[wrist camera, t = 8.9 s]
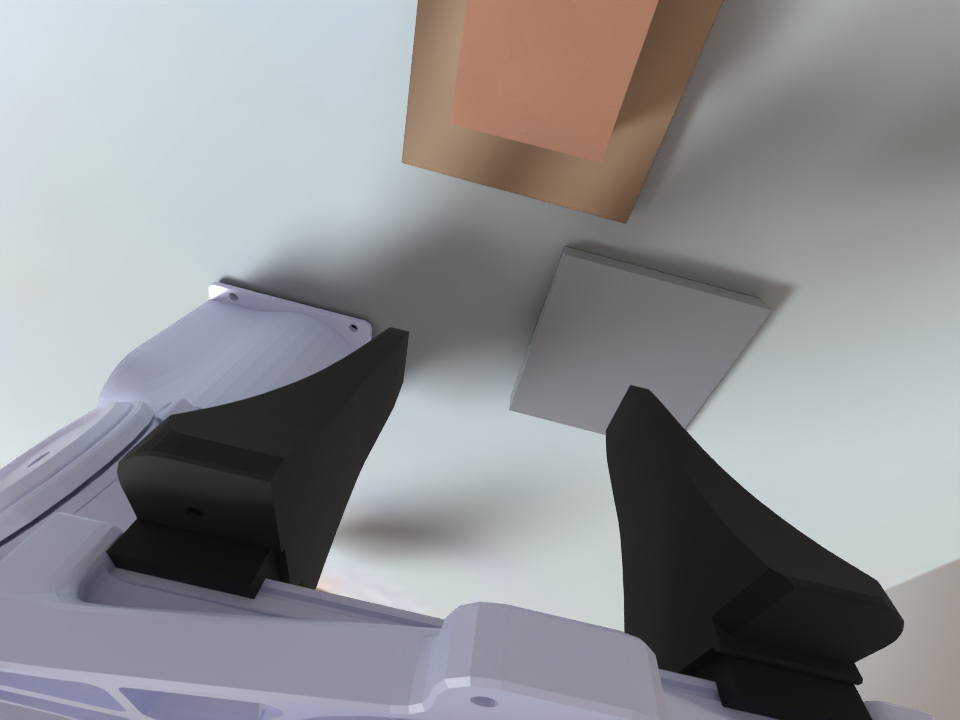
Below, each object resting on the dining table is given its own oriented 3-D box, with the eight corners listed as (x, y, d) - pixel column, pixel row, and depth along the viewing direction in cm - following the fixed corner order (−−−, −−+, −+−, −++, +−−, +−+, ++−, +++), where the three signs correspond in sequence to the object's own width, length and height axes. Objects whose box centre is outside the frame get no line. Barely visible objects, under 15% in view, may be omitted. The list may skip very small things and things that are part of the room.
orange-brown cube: (473, 112, 16) (449, 123, 12) (501, -48, 13) (482, -105, 9) (586, 141, 16) (601, 162, 12) (636, -12, 13) (676, -53, 9)
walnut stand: (409, 158, 18) (401, 162, 17) (447, -189, 13) (438, -212, 12) (621, 215, 19) (625, 223, 18) (755, -100, 13) (772, -114, 12)
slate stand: (510, 397, 25) (509, 410, 24) (564, 246, 20) (565, 254, 19) (663, 436, 26) (667, 451, 25) (761, 299, 20) (772, 310, 19)
